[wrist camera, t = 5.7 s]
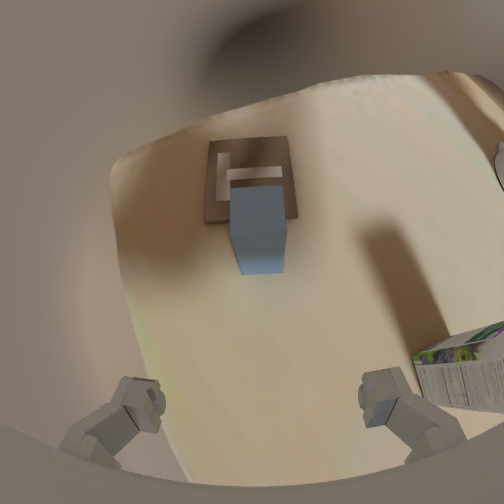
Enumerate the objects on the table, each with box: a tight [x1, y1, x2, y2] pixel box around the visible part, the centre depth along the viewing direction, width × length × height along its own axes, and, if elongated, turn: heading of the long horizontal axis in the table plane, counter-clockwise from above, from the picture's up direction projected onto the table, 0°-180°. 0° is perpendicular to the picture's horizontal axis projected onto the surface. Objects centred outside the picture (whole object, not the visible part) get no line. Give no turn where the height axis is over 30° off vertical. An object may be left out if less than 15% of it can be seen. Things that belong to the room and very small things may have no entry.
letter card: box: [204, 136, 298, 224], centre depth 33 cm, size 10×12×1 cm
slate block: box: [230, 185, 287, 275], centre depth 25 cm, size 4×4×9 cm
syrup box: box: [413, 321, 504, 414], centre depth 16 cm, size 6×6×14 cm
